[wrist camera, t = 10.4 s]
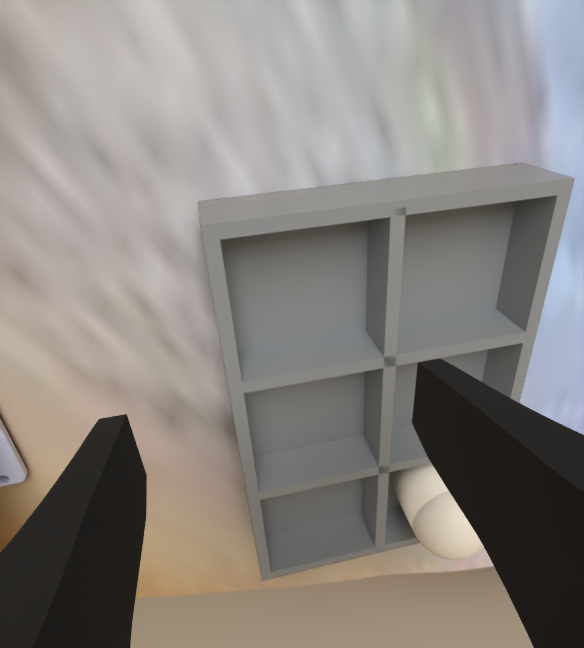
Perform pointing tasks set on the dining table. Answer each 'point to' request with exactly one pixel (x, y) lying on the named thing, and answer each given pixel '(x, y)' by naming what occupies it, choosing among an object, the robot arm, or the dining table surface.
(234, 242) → the grey compartment tray
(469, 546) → the egg
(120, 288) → the dining table surface
